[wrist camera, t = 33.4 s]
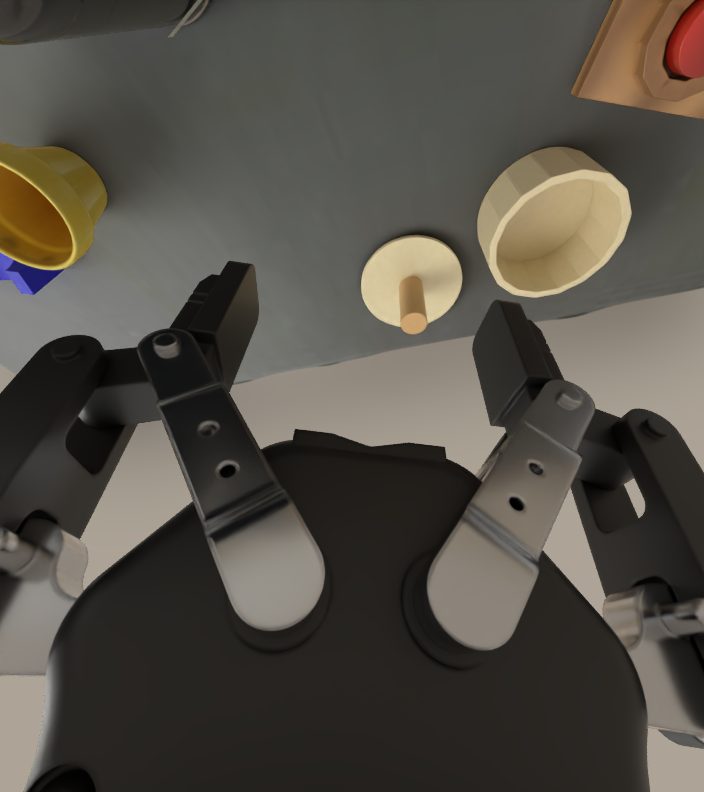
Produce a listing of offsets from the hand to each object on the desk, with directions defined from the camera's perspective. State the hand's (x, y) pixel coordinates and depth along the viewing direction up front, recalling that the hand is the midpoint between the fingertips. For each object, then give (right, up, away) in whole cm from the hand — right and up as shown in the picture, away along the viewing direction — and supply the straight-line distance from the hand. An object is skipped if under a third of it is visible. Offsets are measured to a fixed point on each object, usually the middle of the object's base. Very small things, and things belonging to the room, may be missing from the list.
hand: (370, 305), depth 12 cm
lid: (+7, +11, +32) cm, 34 cm away
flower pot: (-31, +21, +26) cm, 45 cm away
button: (+24, +23, +13) cm, 36 cm away
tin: (+19, +17, +25) cm, 36 cm away
